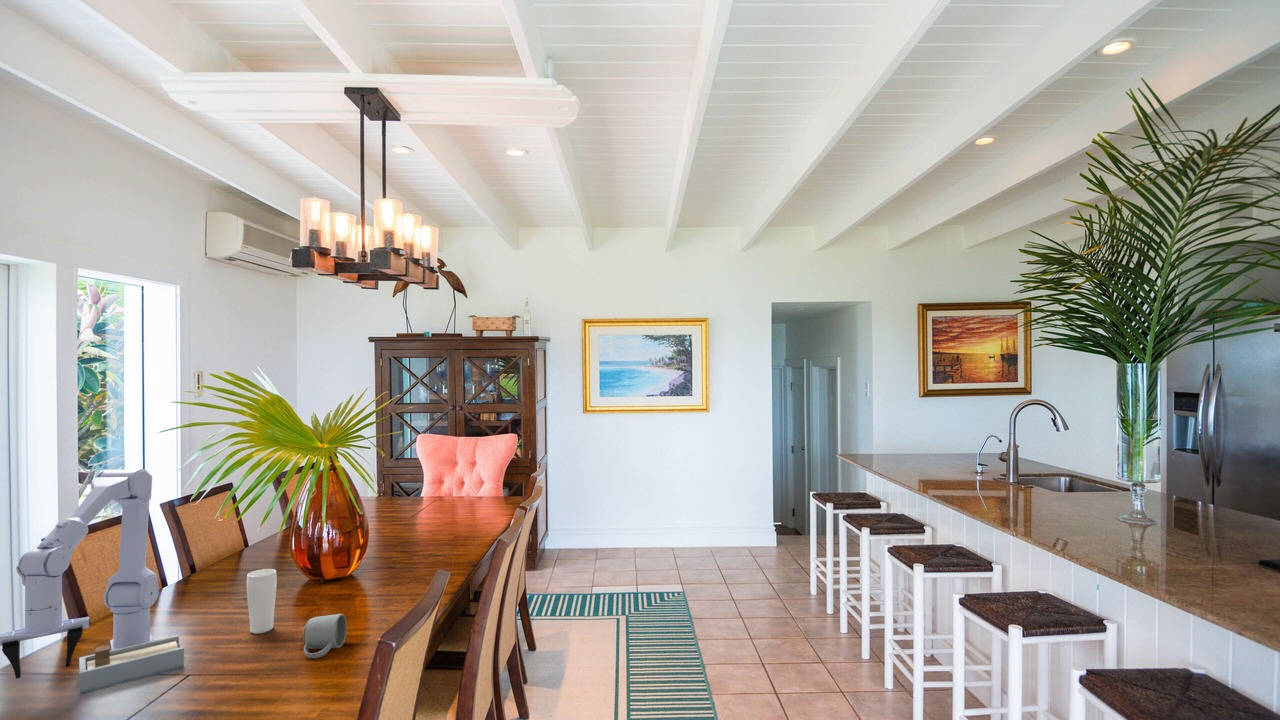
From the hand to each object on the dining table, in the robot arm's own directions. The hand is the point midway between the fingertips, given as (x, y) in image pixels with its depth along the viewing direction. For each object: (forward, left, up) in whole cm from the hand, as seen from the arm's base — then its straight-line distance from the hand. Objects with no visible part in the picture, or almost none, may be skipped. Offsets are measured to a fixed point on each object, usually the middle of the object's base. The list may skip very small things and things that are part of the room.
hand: (43, 670), depth 136 cm
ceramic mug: (+16, +50, -5) cm, 53 cm away
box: (0, +15, -5) cm, 16 cm away
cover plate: (0, +15, -2) cm, 15 cm away
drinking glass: (-7, +42, -5) cm, 43 cm away
